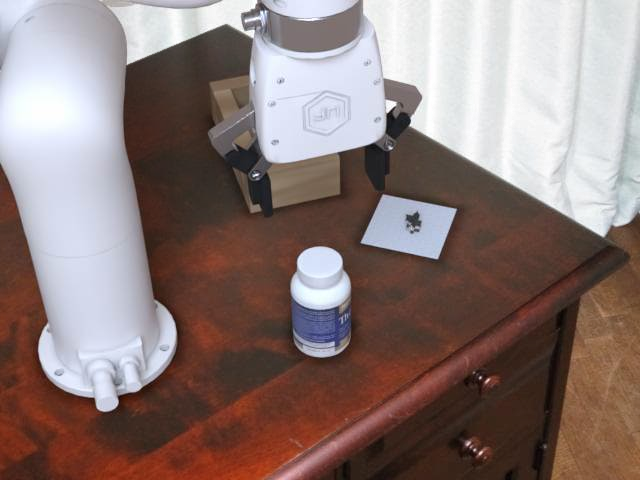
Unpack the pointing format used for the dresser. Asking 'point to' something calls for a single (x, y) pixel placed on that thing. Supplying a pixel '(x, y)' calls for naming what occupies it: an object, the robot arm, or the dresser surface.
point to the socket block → (286, 179)
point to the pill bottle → (321, 303)
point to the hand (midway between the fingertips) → (320, 193)
